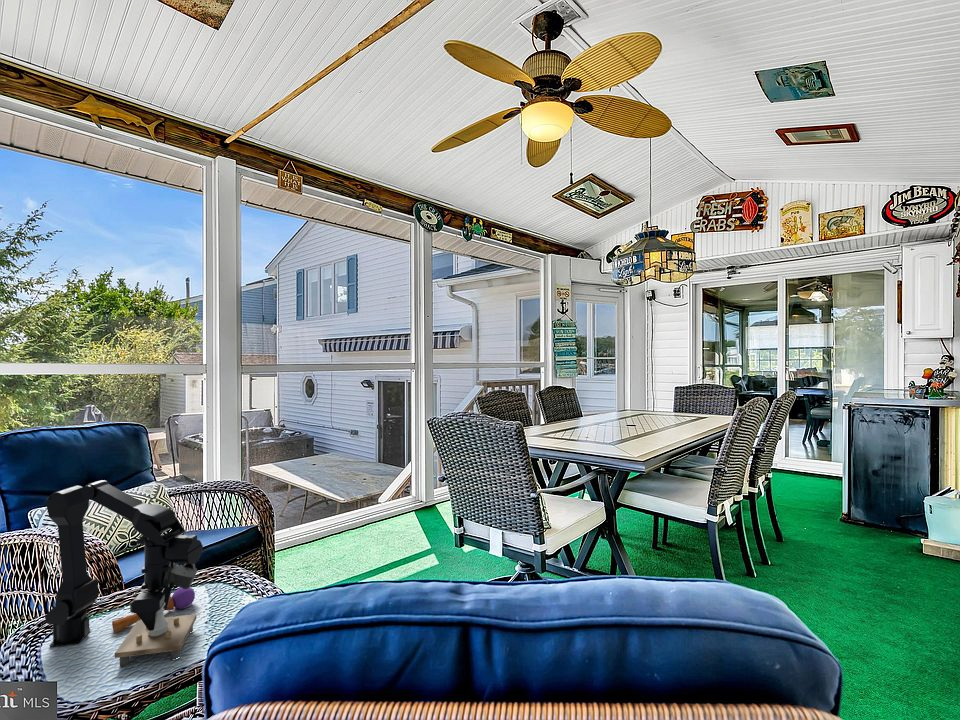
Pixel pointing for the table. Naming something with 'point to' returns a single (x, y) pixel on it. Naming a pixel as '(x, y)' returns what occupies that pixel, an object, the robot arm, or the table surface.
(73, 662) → the table surface
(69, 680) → the table surface
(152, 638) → the peg board
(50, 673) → the table surface
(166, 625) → the rook chess piece
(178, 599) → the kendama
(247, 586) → the table surface
